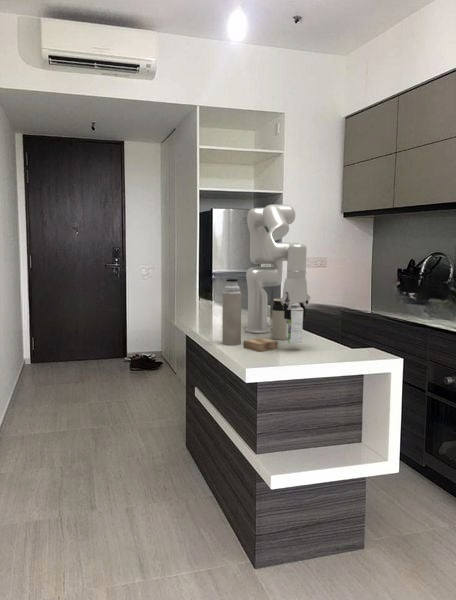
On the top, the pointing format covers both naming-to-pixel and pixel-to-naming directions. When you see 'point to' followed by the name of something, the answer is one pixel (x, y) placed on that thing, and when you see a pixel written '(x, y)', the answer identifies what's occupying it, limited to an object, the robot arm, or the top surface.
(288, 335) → the syrup box
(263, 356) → the top surface
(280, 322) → the travel mug
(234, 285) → the thermos bottle
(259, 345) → the base block
